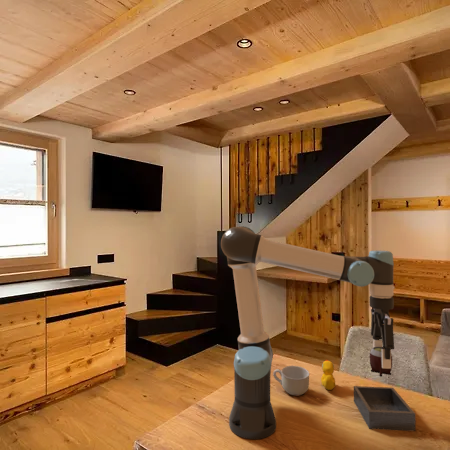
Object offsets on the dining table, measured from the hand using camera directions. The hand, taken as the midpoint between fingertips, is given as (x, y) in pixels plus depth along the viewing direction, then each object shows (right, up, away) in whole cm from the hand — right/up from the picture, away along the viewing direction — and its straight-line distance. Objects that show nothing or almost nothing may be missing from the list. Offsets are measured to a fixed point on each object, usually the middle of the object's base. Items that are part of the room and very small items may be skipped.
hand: (382, 363), depth 115 cm
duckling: (-12, -18, +20) cm, 29 cm away
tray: (0, -18, 0) cm, 18 cm away
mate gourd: (0, -4, 0) cm, 4 cm away
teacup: (-28, -18, +17) cm, 37 cm away
